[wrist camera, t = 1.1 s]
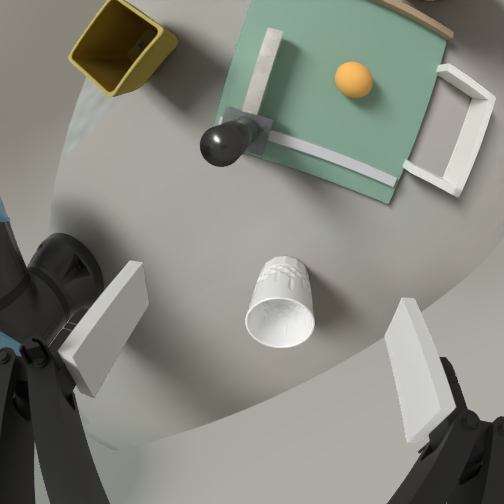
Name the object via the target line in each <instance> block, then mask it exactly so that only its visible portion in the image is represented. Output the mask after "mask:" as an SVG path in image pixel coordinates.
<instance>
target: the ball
mask: <svg viewBox="0 0 504 504" xmlns="http://www.w3.org/2000/svg"><path fill="white" fill-rule="evenodd" d="M335 83H336V85H337V87H338V89H339V90H340V91H341V92H342V93H343V94H345V95H346V96H349V97H352V98H360V97H363V96H365V95H367V94H368V93H369V92H370V90H371V89H372V86H373V77H372V74H371V72H370V71H369V69H368V68H367V67H365V66H364V65H362V64H360V63H358V62H347V63H344V64H342V65H341V66H340V67H339V68H338V69H337V71H336V74H335Z"/></svg>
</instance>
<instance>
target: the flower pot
mask: <svg viewBox="0 0 504 504" xmlns="http://www.w3.org/2000/svg"><path fill="white" fill-rule="evenodd" d="M141 43H143V46H142V47H140V44H141ZM177 44H178V39H177V38H176V36H175V35H173V34H172V33H171V32H169V31H168V30H166V29H165V28H164V27H162V26H161V25H160V24H158V23H157V22H155V21H154V20H153V19H151V18H150V17H149V16H147V15H146V14H144V13H143V12H142V11H140V10H139V9H138V8H136V7H135V6H133V5H131V4H130V3H128V2H126V1H125V0H107V1H106V3H105V4H104V5H103V7H102V8H101V9H100V11H99V12H98V13H97V15H96V16H95V18H94V19H93V20H92V22H91V23H90V24H89V26H88V27H87V29H86V30H85V31H84V33H83V34H82V36H81V37H80V39H79V40H78V41H77V43H76V45H75V46H74V48H73V49H72V51H71V53H70V55H69V57H68V59H69V61H70V62H71V63H72V64H73V65H75V67H77V68H78V69H79V70H80V71H81V72H82V73H83V74H84V75H85V76H87V77H88V78H89V79H90V80H91V81H92V82H93V83H94V84H95V85H96V86H97V87H98V88H100V89H101V90H102V91H103V92H104V93H105V94H106V95H107V96H109V97H111V98H112V97H115V96H118V95H121V94H125V93H128V92H132V91H134V90H136V89H138V88H140V87H141V86H142V85H144V84H145V83H146V82H147V80H148V79H149V78H150V77H151V76H152V74H153V73H154V72H155V71H156V69H157V68H158V67H159V66H160V65H161V63H162V62H163V61H164V60H165V59H166V58H167V56H168V55H169V54H170V53H171V52H172V51H173V50H174V49H175V48H176V46H177Z"/></svg>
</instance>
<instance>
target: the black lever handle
mask: <svg viewBox="0 0 504 504" xmlns="http://www.w3.org/2000/svg"><path fill="white" fill-rule="evenodd" d="M283 39H284V31H281V30H277V29H273V28H269V27H268V28H267V31H266V34H265V37H264V40H263V43H262V46H261V49H260V52H259V56H258V59H257V62H256V65H255V68H254V72H253V75H252V78H251V81H250V85H249V88H248V91H247V95H246V98H245V102H244V105H243V109H238V108H235V107H231V106H228V107H225V111H224V115H223V118H222V122H221V124H220V125H217V126H214V127H212V128H210V129H208V130H207V131H206V132H205V133H204V134H203V136H202V138H201V141H200V150H201V153H202V155H203V157H204V159H205V160H206V161H207V162H209V163H210V164H212V165H214V166H218V167H224V166H228V165H231V164H232V163H234V162H235V161H236V160H237V159H238V158H239V157H240V156H241V155H242V154H243V153H244V152H245V151H247V152H250V153H254V154H257V155H260V156H263V154H264V152H265V148H266V145H267V142H268V139H269V135H270V132H271V129H272V126H273V122H274V118H271V117H268V116H264V115H261V114H260V112H261V108H262V105H263V102H264V99H265V95H266V92H267V89H268V86H269V82H270V79H271V76H272V73H273V70H274V66H275V63H276V60H277V57H278V54H279V51H280V48H281V45H282V42H283Z"/></svg>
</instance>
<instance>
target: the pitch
mask: <svg viewBox="0 0 504 504" xmlns="http://www.w3.org/2000/svg"><path fill="white" fill-rule="evenodd" d="M268 27H269V28H273V29H277V30H281V31H284V39H283V42H282V45H281V48H280V51H279V54H278V57H277V60H276V63H275V66H274V70H273V73H272V76H271V79H270V82H269V86H268V89H267V92H266V95H265V99H264V102H263V105H262V108H261V112H260V114H261V115H264V116H268V117H271V118H274V122H273V126H272V129H271V132H270V135H269V139H268V142H267V145H266V148H265V152H264V154H263V156H260V155H257V154H254V153H250V152H247V151H245V152H244V153H245V154H249V155H252V156H255V157H259V158H262V159H265V160H268V161H272V162H275V163H278V164H281V165H284V166H287V167H290V168H293V169H296V170H299V171H302V172H305V173H308V174H311V175H314V176H316V177H319V178H322V179H325V180H328V181H330V182H333V183H336V184H338V185H341V186H344V187H346V188H349V189H352V190H354V191H357V192H359V193H362V194H364V195H367V196H369V197H372V198H374V199H377V200H379V201H381V202H384V203H386V204H389V202H390V199H391V197H392V195H393V193H394V190H395V188H396V186H397V184H398V181H399V179H400V177H401V174H402V172H403V169H404V168H403V164H404V162H405V160H408V157H409V155H410V152H411V150H412V147H413V144H414V142H415V139H416V137H417V134H418V131H419V129H420V126H421V123H422V120H423V117H424V115H425V112H426V109H427V106H428V103H429V100H430V97H431V94H432V91H433V88H434V84H435V81H436V78H437V74H438V73H437V72H436V71H437V68H438V65H440V64H441V61H442V57H443V53H444V49H445V46H446V42H447V40H449V39H452V38H453V36H454V31H452V30H450V29H449V28H447V27H446V26H444V25H442V24H441V23H439V22H437V21H436V20H434V19H432V18H431V17H429V16H427V15H425V14H424V13H422V12H420V11H418V10H416V9H414V8H412V7H410V6H408V5H406V4H404V3H402V2H400V1H398V0H251V3H250V6H249V9H248V12H247V15H246V18H245V21H244V24H243V27H242V30H241V33H240V36H239V39H238V42H237V45H236V48H235V52H234V55H233V58H232V61H231V65H230V68H229V71H228V75H227V78H226V82H225V85H224V89H223V92H222V96H221V99H220V103H219V107H218V111H217V114H216V118H215V122H214V126H217V125H220V124H221V122H222V118H223V115H224V111H225V107H228V106H231V107H235V108H238V109H243V105H244V102H245V98H246V95H247V91H248V88H249V85H250V81H251V78H252V75H253V72H254V68H255V65H256V62H257V59H258V56H259V52H260V49H261V46H262V43H263V40H264V37H265V34H266V31H267V28H268ZM347 62H358V63H360V64H362V65H364V66H365V67H367V68H368V69H369V71H370V72H371V74H372V77H373V86H372V89H371V90H370V92H369V93H368V94H367V95H365V96H363V97H360V98H352V97H349V96H346V95H345V94H343V93H342V92H341V91H340V90H339V89H338V87H337V85H336V83H335V74H336V71H337V69H338V68H339V67H340V66H341V65H342V64H344V63H347ZM214 126H213V127H214Z"/></svg>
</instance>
